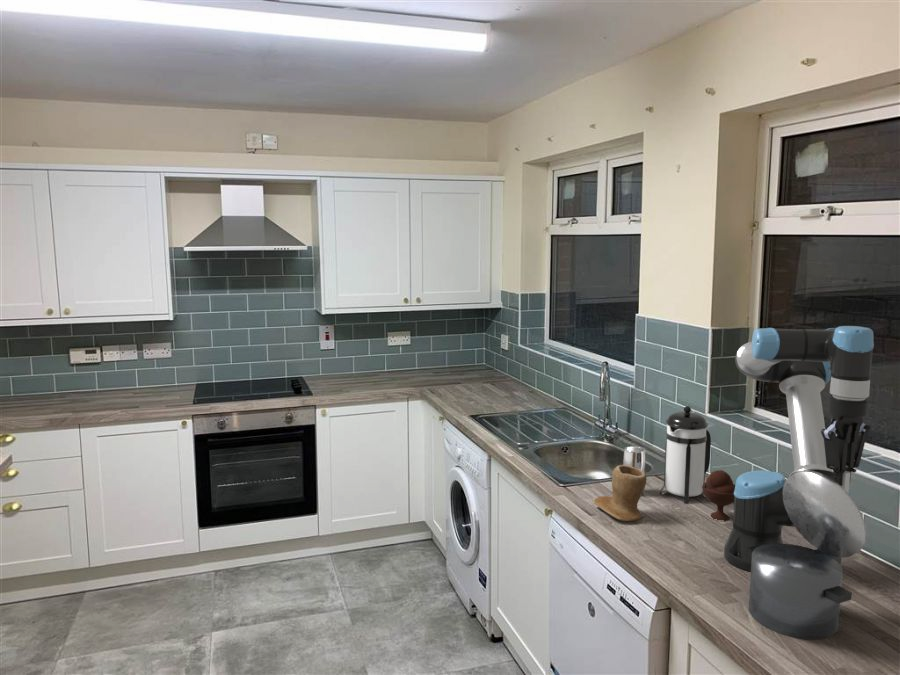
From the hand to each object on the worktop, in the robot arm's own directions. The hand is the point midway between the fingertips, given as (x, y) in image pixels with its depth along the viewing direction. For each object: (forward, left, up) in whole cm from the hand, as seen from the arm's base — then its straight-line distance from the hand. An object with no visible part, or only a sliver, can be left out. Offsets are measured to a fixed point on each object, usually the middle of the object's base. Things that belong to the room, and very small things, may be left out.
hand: (840, 498), depth 155 cm
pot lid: (+4, -4, -3) cm, 7 cm away
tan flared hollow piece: (-35, -53, -26) cm, 69 cm away
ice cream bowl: (-43, -25, -26) cm, 56 cm away
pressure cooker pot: (+8, -8, -26) cm, 28 cm away
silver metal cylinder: (-54, -52, -26) cm, 79 cm away
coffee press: (-59, -36, -26) cm, 74 cm away
